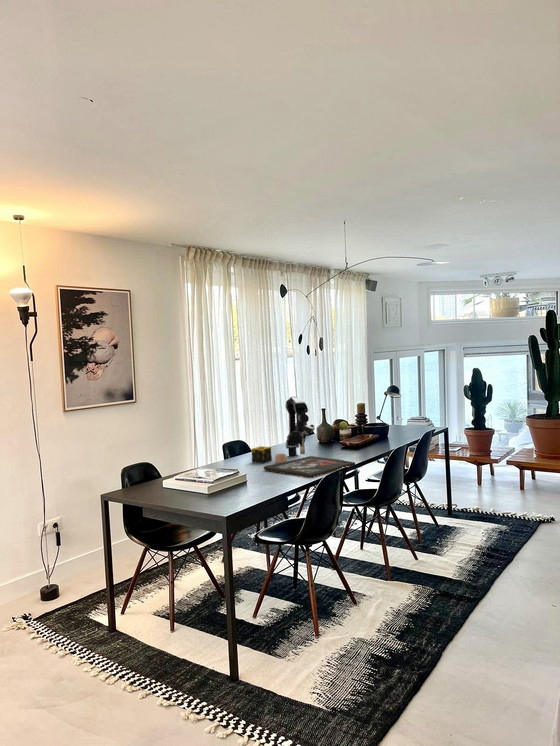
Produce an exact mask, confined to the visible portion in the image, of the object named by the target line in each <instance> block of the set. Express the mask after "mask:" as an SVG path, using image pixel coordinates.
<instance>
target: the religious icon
mask: <svg viewBox="0 0 560 746" xmlns="http://www.w3.org/2000/svg"><path fill="white" fill-rule="evenodd" d="M355 465H356V462H355V461H351V460H349V461H348V460H343V459H337V458H329V457H322V456H313V455H309V456H305V457H301V458H296V459H292V460H286V462H282V463H274V464H269V465H265V466H263V470H265V471H270V472H274V473H280V474H284V473H285V474H284V475H286V474H287V475H290V474H292V475H291V476H296V475H298V477H301V476H303V478H307V477H312V478H315V477H314V476H316V477H318V476H317V475H319V476H322V475H325V473H326V474H330V473H332V471H333V472H336V471H338V470H337V469H339V468H342V467H346V466H350V467H353V466H355ZM346 468H347V467H346ZM335 470H336V471H335ZM339 470H340V469H339ZM321 474H322V475H321Z"/></svg>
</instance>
